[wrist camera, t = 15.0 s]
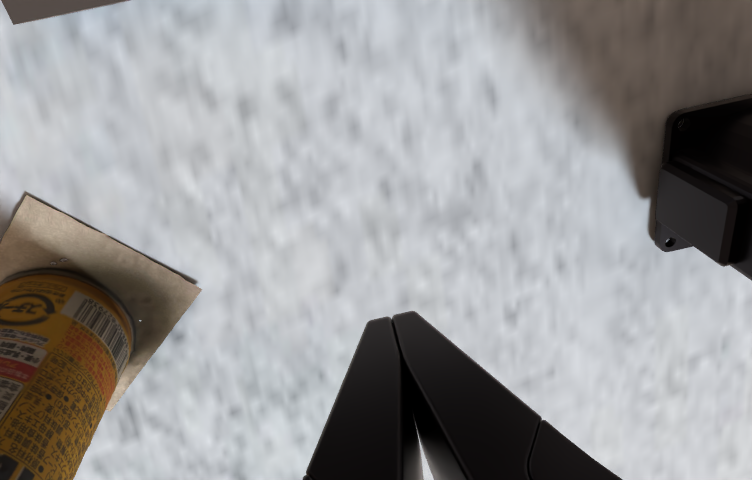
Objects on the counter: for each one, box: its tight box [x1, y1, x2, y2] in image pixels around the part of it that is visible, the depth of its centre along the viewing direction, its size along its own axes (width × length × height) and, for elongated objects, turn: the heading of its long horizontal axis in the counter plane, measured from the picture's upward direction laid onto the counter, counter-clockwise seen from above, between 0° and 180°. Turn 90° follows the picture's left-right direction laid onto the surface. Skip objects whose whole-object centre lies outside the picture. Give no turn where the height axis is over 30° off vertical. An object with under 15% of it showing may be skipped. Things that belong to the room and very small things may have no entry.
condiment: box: [0, 195, 202, 480], centre depth 16 cm, size 7×8×12 cm
